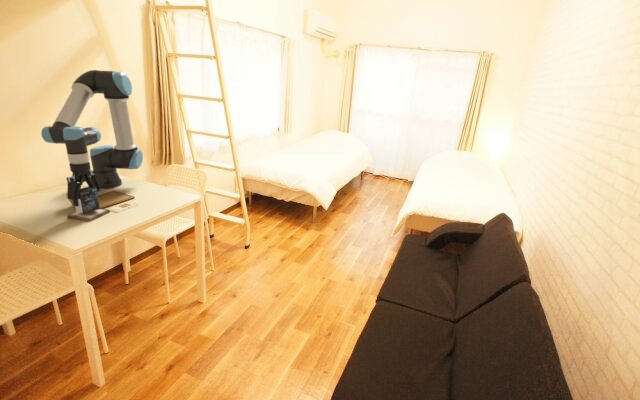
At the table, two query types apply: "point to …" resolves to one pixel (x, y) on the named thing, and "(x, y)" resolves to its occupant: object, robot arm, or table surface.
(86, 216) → the board
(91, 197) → the box
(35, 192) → the table surface
